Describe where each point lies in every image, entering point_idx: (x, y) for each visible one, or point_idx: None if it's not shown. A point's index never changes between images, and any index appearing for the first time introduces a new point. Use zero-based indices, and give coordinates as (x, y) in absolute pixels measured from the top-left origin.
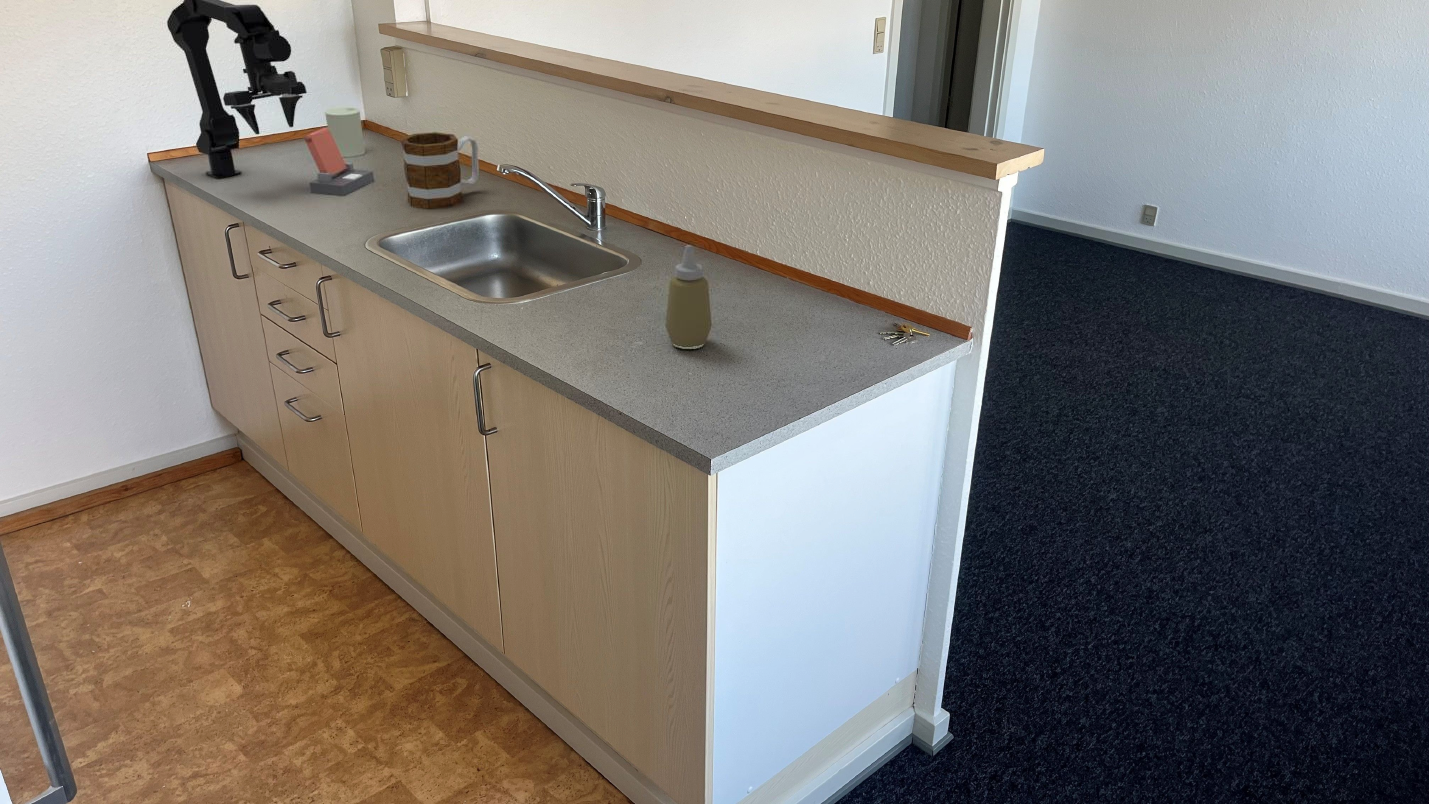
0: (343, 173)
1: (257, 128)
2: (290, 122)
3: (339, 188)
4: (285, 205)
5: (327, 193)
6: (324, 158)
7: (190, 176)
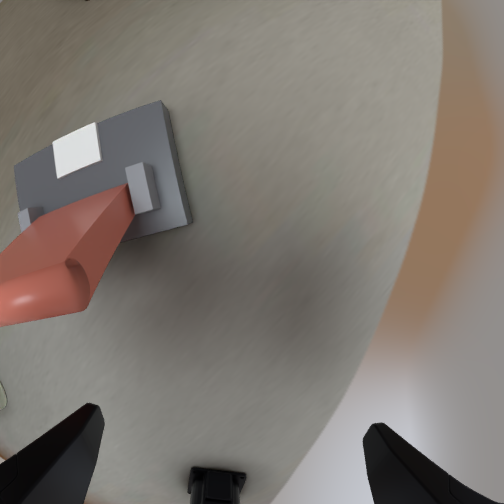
0: None
1: (399, 443)
2: (87, 431)
3: (164, 114)
4: (331, 186)
5: (178, 162)
6: (87, 213)
7: (260, 501)
